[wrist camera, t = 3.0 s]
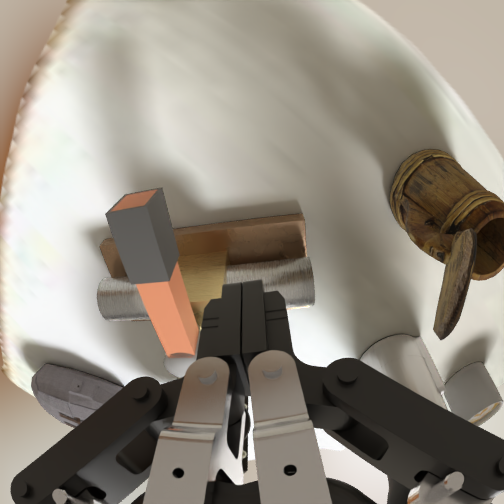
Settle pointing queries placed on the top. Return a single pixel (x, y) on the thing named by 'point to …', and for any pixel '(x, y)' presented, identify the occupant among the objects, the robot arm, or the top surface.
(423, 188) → the wooden mug
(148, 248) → the valve lever
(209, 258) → the stand
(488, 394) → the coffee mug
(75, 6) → the top surface
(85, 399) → the small grey backpack
